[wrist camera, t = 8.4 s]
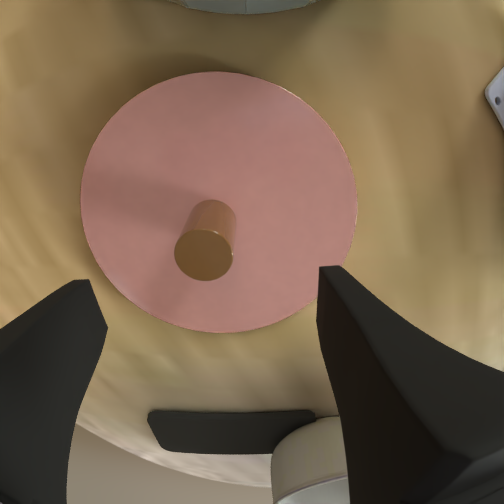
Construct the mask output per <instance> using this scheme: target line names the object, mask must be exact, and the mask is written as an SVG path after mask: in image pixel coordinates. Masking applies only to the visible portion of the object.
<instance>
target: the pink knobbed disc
mask: <svg viewBox="0 0 504 504" xmlns="http://www.w3.org/2000/svg"><path fill="white" fill-rule="evenodd" d="M80 207H81V218H82V223H83V228H84V232H85V236H86V238H87V241H88V244H89V247H90V249H91V251H92V253H93V255H94V257H95V259H96V261H97V263H98V265H99V266H100V268H101V269H102V271H103V272H104V274H105V275H106V277H107V278H108V279H109V280H110V282H111V283H112V284H113V285H114V286H115V287H116V289H118V290H119V291H120V292H121V293H122V294H123V295H124V296H125V297H126V298H127V299H128V300H130V301H131V302H132V303H134V304H135V305H136V306H138V307H139V308H140V309H142V310H144V311H145V312H147V313H149V314H151V315H152V316H154V317H156V318H158V319H161V320H163V321H165V322H167V323H170V324H173V325H176V326H179V327H182V328H186V329H191V330H195V331H202V332H211V333H233V332H243V331H249V330H253V329H258V328H262V327H265V326H268V325H271V324H274V323H276V322H279V321H281V320H283V319H285V318H287V317H289V316H291V315H293V314H294V313H296V312H298V311H299V310H301V309H303V308H304V307H305V306H306V305H308V304H309V303H310V302H312V301H313V300H314V299H315V298H316V297H317V296H318V279H319V267H320V266H333V265H340V266H342V264H343V263H344V261H345V258H346V256H347V254H348V251H349V249H350V247H351V243H352V239H353V236H354V232H355V227H356V219H357V192H356V185H355V179H354V175H353V172H352V169H351V165H350V162H349V159H348V157H347V155H346V153H345V151H344V149H343V147H342V145H341V143H340V141H339V139H338V138H337V136H336V135H335V134H334V132H333V131H332V129H331V128H330V126H329V125H328V124H327V123H326V122H325V121H324V119H323V118H322V117H321V116H320V115H319V114H318V113H317V112H316V111H315V110H314V109H313V108H312V107H310V106H309V105H308V104H307V103H305V102H304V101H303V100H302V99H300V98H299V97H298V96H296V95H294V94H293V93H291V92H289V91H287V90H286V89H284V88H282V87H281V86H278V85H276V84H273V83H271V82H268V81H266V80H263V79H261V78H257V77H253V76H249V75H245V74H241V73H232V72H221V71H212V72H197V73H191V74H186V75H182V76H177V77H174V78H171V79H168V80H165V81H163V82H160V83H158V84H155V85H153V86H152V87H150V88H148V89H146V90H144V91H142V92H141V93H139V94H137V95H136V96H135V97H133V98H132V99H131V100H130V101H128V102H127V103H126V104H124V105H123V106H122V107H121V108H120V109H119V110H118V111H117V112H116V113H115V114H114V115H113V116H112V117H111V118H110V119H109V121H108V122H107V123H106V125H105V126H104V128H103V129H102V130H101V132H100V133H99V135H98V136H97V138H96V140H95V142H94V144H93V146H92V148H91V150H90V152H89V155H88V158H87V161H86V164H85V167H84V171H83V176H82V182H81V193H80Z"/></svg>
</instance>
